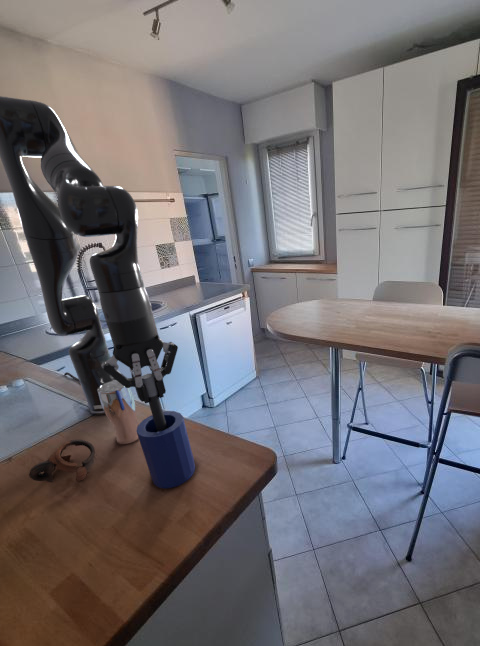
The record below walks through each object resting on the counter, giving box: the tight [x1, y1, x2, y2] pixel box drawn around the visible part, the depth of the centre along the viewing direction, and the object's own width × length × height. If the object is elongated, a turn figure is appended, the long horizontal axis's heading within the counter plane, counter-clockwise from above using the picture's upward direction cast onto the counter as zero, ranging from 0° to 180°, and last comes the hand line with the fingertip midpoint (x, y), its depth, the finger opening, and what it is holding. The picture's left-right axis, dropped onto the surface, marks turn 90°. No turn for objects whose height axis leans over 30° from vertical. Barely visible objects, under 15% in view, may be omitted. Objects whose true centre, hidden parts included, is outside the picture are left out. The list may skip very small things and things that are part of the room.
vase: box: [136, 410, 196, 489], centre depth 70 cm, size 9×9×13 cm
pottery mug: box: [28, 439, 97, 483], centre depth 73 cm, size 12×10×8 cm
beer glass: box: [97, 380, 139, 445], centre depth 82 cm, size 7×7×15 cm
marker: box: [141, 373, 168, 432], centre depth 66 cm, size 2×2×14 cm
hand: (153, 398), depth 65 cm, fingers closed on marker, 2 cm apart
